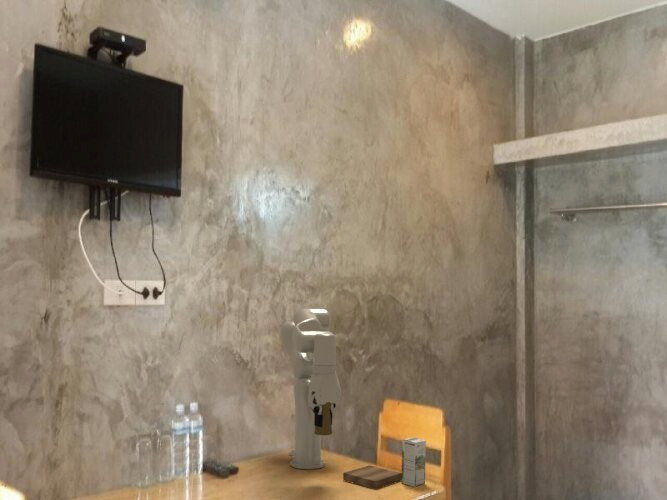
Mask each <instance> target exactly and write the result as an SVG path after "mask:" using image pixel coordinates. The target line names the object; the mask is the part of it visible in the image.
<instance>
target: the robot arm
mask: <svg viewBox="0 0 667 500" xmlns="http://www.w3.org/2000/svg"><path fill="white" fill-rule="evenodd" d="M292 318H293V319H292V321H288V322H285V323H284V324H283V325H282V327H281V329H280V338H281V339H280V340H281V343H282V344H281V345H282V347H283V349H284V351H285V353H286V354H287V356H288V358H289V361H290V365H291V369H292V373H293V376H294V379H295V382H294V384H293V398H294V406H295V413H294V414H295V418H294V419H295V421H294V422H295V423H294V425H295V428H294V430H295V431H294V449H292V450H291V451H290V452H288V456H289V457H292V460H291V461H290V462H289V463H290V466H291V467H292V468H294V469H298V470H316V469H320V468H321V469H322V468H323V467H325V464H326V463H325V461H324V460H323V459H321V457H322V455H321V454H322V451H321V449H322V447H321V446H322V435H316V434H314V432H315V426H318V427H322V422H323V415H321V412H322V405H324V404H326V403H327V402H330V403H331V404H332V405H331V409H330V417H331V426H332V425H333V413H334V411H335V408H336V406H337V405H338V404H339V402H340V399H341V396H342V389H341V384H340V381H339V377H338V373H337V371H336V369H337V365H336V364H337V363H336V357H337V356H336V355H337V354H336V353H337V349H336V348H337V337H336V335H335V334H334V333H332V332H331V331H329V330H330V328H331V325H332V317H331V314H330V312H329V311H328V310H327V309H326V308H301V309H298V310H297V311H295V313H294V315H293V317H292ZM312 354H313V357H312ZM317 406H318V407H319V408H317Z"/></svg>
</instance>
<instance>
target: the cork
mask: <svg viewBox="0 0 667 500" xmlns="http://www.w3.org/2000/svg"><path fill="white" fill-rule="evenodd" d="M331 405H332V404H331V403H330V402H327V403H326V404H324V405H322V412H321V415H323V422H322V427H318V426H315V432H314V434H316V435H321V436H331V435H333V427H332V425H331V417H330V409H331ZM317 408H319V407H318V406H317Z"/></svg>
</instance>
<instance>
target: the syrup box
mask: <svg viewBox="0 0 667 500" xmlns="http://www.w3.org/2000/svg"><path fill="white" fill-rule="evenodd" d="M426 441H427V440H425V439H422V438H419V437H409V438H405V439H402V441H401V448H402V449H401V473H402V479H401V481H400V482H401V484H402V483H403V485H407V486H410V487H419V486H422V485H424V484H426V455H427V454H426V452H427V451H426V447H427V444H426V443H427V442H426Z"/></svg>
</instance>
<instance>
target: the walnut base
mask: <svg viewBox="0 0 667 500" xmlns="http://www.w3.org/2000/svg"><path fill="white" fill-rule="evenodd" d="M342 474H343V475H342V476H343V478H342V479H343V481H344V480H345V482H347V481H349V482H348V483H351V482H353V483H352V484H354V483H356V485H358V484H360V485H359V486H362V485H363V486H362V487H366V488H370V489H373V490H379V489H380V488H381V489H382V488H384V487H386V485H387V486H389V484H390V485H393V484H396V483H398V481H399V482H401V479H402V472H399V471H394V470H391V469H387V468H382V467H380V466H374V465H369V464H368V465H365V466H362V467H360V468H355V469H351V470H348V471H345V472H343V473H342ZM395 482H396V483H395ZM392 483H393V484H392ZM383 486H384V487H383Z"/></svg>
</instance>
